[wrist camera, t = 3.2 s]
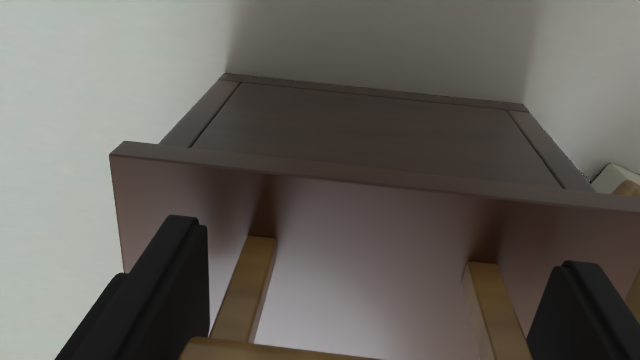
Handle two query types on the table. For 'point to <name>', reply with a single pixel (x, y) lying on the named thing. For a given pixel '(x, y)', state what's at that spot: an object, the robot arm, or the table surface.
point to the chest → (376, 131)
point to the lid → (367, 253)
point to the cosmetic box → (626, 185)
